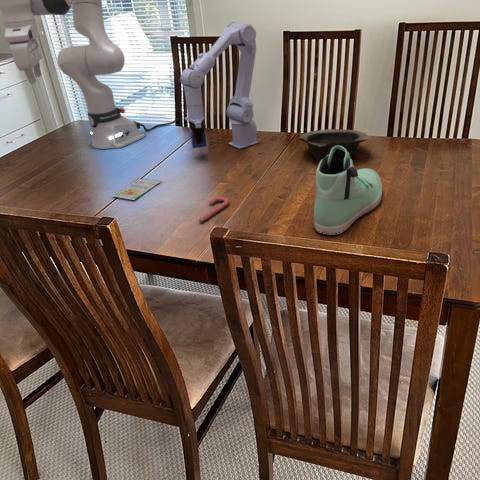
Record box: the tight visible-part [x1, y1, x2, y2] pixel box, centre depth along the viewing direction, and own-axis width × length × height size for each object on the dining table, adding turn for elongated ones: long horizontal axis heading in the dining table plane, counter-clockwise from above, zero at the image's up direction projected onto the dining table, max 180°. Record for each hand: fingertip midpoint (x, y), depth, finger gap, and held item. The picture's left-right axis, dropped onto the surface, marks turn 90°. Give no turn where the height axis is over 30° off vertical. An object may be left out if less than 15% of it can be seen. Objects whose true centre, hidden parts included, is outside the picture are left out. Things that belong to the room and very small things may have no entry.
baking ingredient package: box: [112, 178, 161, 201], centre depth 160 cm, size 9×1×15 cm
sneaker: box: [313, 146, 383, 236], centre depth 133 cm, size 14×35×20 cm, turn 152°
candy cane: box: [198, 196, 230, 223], centre depth 143 cm, size 6×15×2 cm, turn 145°
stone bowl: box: [298, 128, 371, 163], centre depth 172 cm, size 25×25×9 cm
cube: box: [190, 131, 208, 149], centre depth 177 cm, size 5×5×5 cm
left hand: (35, 79), depth 148 cm, fingers open, 8 cm apart
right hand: (198, 141), depth 177 cm, fingers closed on cube, 5 cm apart
